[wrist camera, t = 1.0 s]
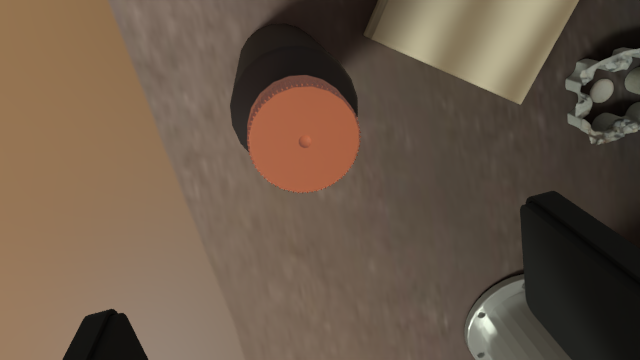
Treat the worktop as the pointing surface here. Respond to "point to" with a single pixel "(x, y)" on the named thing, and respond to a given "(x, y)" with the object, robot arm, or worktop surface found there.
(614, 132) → the egg carton
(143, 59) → the worktop surface
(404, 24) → the maple base
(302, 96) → the vinegar
